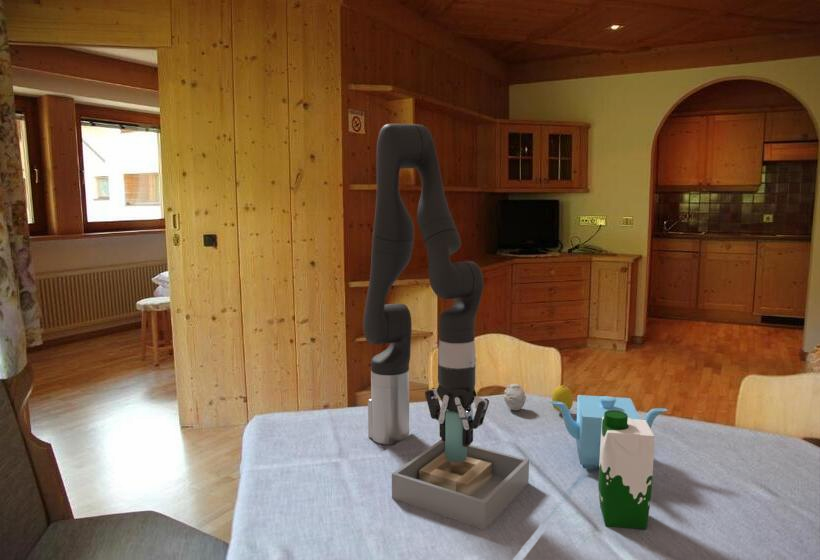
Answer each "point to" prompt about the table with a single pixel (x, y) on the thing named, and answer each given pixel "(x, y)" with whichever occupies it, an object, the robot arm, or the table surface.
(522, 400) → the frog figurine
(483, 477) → the bore block
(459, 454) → the peg
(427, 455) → the open box
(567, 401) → the lemon
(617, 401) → the teakettle
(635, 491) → the milk carton
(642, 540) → the table surface
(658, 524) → the table surface
